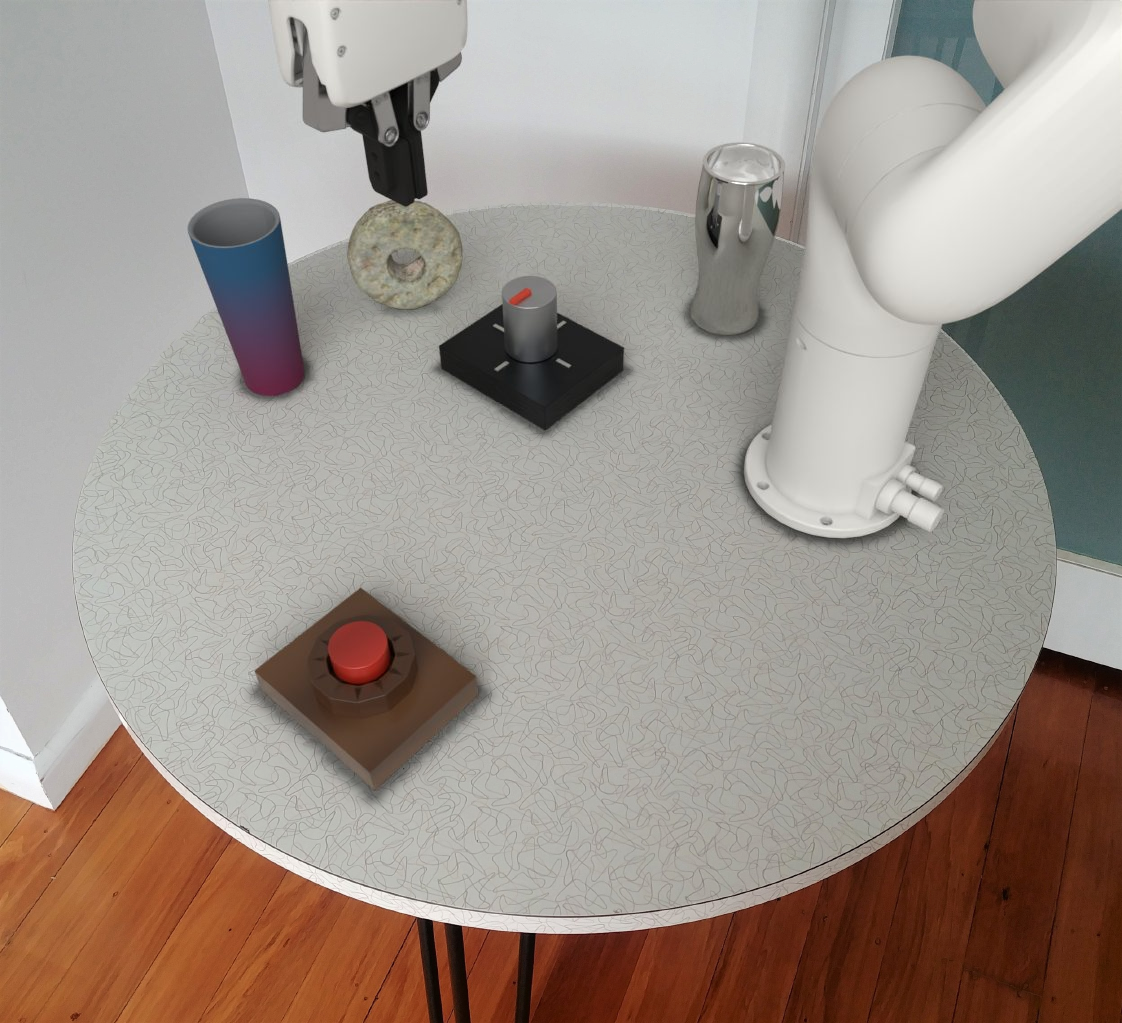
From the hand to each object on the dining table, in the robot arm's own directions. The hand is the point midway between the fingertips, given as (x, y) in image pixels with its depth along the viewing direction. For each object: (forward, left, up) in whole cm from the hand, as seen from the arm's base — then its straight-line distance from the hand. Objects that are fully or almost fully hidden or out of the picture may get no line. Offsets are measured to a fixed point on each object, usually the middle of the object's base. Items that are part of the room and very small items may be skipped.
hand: (399, 193), depth 63 cm
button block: (-10, +16, -25) cm, 31 cm away
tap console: (+4, -15, -25) cm, 30 cm away
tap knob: (+4, -15, -23) cm, 27 cm away
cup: (+20, 0, -25) cm, 32 cm away
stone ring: (+19, -15, -25) cm, 35 cm away
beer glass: (-4, -32, -25) cm, 41 cm away
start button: (-10, +16, -22) cm, 29 cm away
